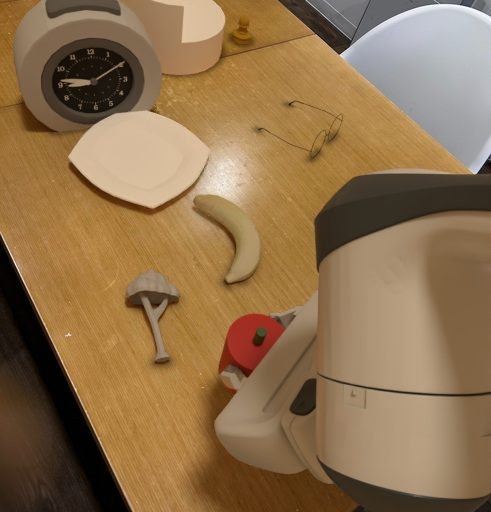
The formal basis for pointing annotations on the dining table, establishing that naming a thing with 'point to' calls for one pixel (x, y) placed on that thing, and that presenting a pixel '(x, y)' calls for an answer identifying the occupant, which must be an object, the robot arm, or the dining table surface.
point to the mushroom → (153, 301)
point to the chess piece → (242, 32)
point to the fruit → (234, 234)
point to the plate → (140, 157)
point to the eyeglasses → (319, 133)
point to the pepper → (249, 342)
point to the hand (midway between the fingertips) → (248, 348)
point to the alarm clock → (84, 62)
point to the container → (182, 32)
